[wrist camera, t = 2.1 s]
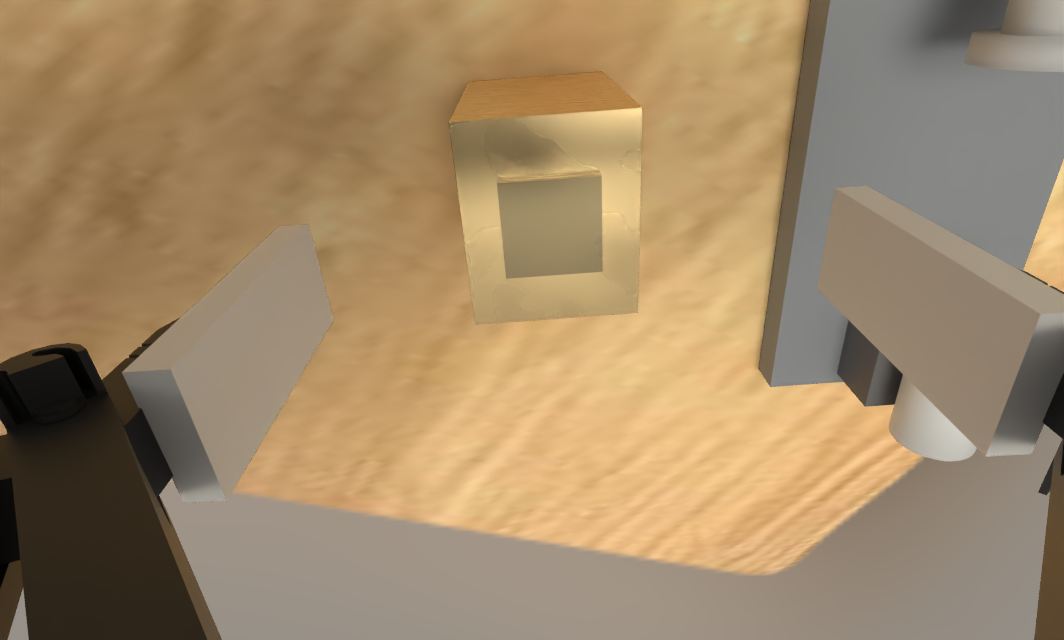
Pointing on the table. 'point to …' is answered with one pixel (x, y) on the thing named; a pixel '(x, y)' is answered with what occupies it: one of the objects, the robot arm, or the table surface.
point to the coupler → (549, 196)
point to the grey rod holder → (912, 167)
